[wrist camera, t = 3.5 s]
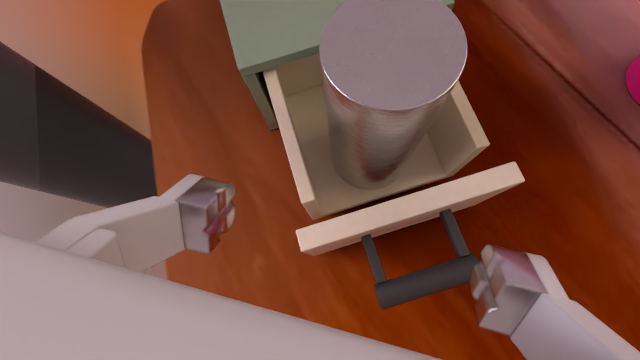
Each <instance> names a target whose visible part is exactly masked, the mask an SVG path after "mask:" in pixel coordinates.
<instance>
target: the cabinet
mask: <svg viewBox="0 0 640 360" xmlns="http://www.w3.org/2000/svg"><path fill="white" fill-rule="evenodd" d="M346 1H347V0H220V3H221V7H222V11H223V14H224V18H225V22H226V26H227V29H228V33H229V37H230V41H231V45H232V48H233V52H234V56H235V60H236V63H237V67H238V70H239V72H240V74H241V76H242V78H243V80H244V81H245V83H246V85H247V87H248V89H249V91H250V93H251V94H252V96H253V98H254V100H255V102H256V104H257V106H258V107H259V109H260V111H261V113H262V115H263V117H264V119H265V120H266V122H267V124H268V126H269V128H270V130H274V129H277V128H279V125H278V122H277V118H276V115H275V111H274V108H273V105H272V101H271V98H270V94H269V91H268V87H267V84H266V81H265V77H264V74H263V71H264V70H267V69H270V68H274V67H277V66H280V65H283V64H287V63H290V62H293V61H296V60H299V59H303V58H306V57H309V56H312V55H316V54H319V43H320V38H321V34H322V31H323V28H324V26H325V25H326V23H327V21H328V19H329V18H330V16H331V15H332V14H333V13H334V11H335V10H336V9H337V8H338V7H339V6H341V5H342V4H343V3H344V2H346ZM440 1H441V2H442V3H444V4H445V5H446V6H447V7H448V8H449V9H451V11H452V8H453V6H454V3H455V2H454V0H440Z"/></svg>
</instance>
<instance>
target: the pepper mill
mask: <svg viewBox="0 0 640 360" xmlns="http://www.w3.org/2000/svg"><path fill="white" fill-rule="evenodd" d="M626 84H627V88H628V91H629V93H630V94H631V96H632V98H633V99H634V100H635V101H636V102H637V103H638V104H639V105H640V56H638V57H637V58H636V59H635V60H633V61H632V63H631V64H630V66H629V67H628V70H627V72H626Z"/></svg>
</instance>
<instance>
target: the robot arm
mask: <svg viewBox="0 0 640 360" xmlns="http://www.w3.org/2000/svg"><path fill="white" fill-rule="evenodd" d="M234 196H235V188H234V186H233V185H232V184H230V183H226V182H222V181H219V180H215V179H211V178H207V177H203V176H199V175H194V174H188V175H187V176H186V177H184V178H183V179H182V180H180V181H179V182H178V183H177V184H175V185H174V186H173V187H171V188H170V189H169V190H168V191H166V192H165V193H164V194H162V195H161V196H160V197H156V196H153V197H149V198H145V199H142V200H138V201H134V202H130V203H126V204H123V205H119V206H115V207H111V208H107V209H104V210H100V211H96V212H92V213H88V214H85V215H81V216H77V217H73V218H70V219H69V220H67V221H66V222H64V223H63V224H61V225H59V226H58V227H56V228H55V229H53V230H51V231H50V232H48V233H47V234H45V235H44V236H42V237H40V238H39V239H38V240H36V241H31V240H27V239H24V238H20V237H17V236H13V235H9V234H6V233H3V232H0V360H442V359H439V358H435V357H432V356H429V355H425V354H422V353H418V352H415V351H411V350H408V349H404V348H401V347H398V346H394V345H391V344H387V343H384V342H380V341H377V340H374V339H370V338H367V337H363V336H360V335H356V334H353V333H349V332H346V331H342V330H339V329H335V328H332V327H328V326H325V325H321V324H318V323H315V322H311V321H308V320H304V319H301V318H297V317H294V316H290V315H287V314H283V313H280V312H276V311H273V310H269V309H266V308H262V307H259V306H256V305H252V304H249V303H245V302H242V301H238V300H235V299H231V298H228V297H224V296H221V295H217V294H214V293H210V292H207V291H204V290H200V289H197V288H193V287H190V286H186V285H183V284H179V283H176V282H172V281H169V280H165V279H162V278H159V277H155V276H152V275H148V274H145V273H141V272H143V271H145V270H147V269H149V268H151V267H153V266H154V265H156V264H158V263H160V262H162V261H164V260H166V259H168V258H170V257H172V256H174V255H176V254H177V253H179V252H181V251H183V250H185V248H186V249H190V250H194V251H198V252H202V253H206V254H210V253H211V252H212V250H213V249H214V248H215V247H216V245H217V244H218V243H219V241H220V235H221V234H224V233H226V232H227V231H228V230H229V228H230V227H231V225H232V223H233V220H234V216H235V205H234V204H233V202H232V201H231V199H232V198H233V197H234ZM480 255H481V258H482V261H481V262H479V263H477V264H475V265H474V267H473V270H472V272H471V275H470V280H469V288H470V293H471V296H472V297H473V298H474V299H475V300H476V301H477V303H476V305H475V307H474V310H475V314H476V318H477V322H478V326H479V327H480V328H483V329H486V330H490V331H493V332H497V333H500V334H503V335H507V336H510V339H511V340H512V341H513V343H514V344H515V345H516V347H517V348H518V349H519V350H520V352H521V353H522V354H523V356H524V357H525V358H526V359H527V360H640V352H639V351H638V350H637V349H635V348H634V347H633V346H632V345H630V344H629V343H628V342H627V341H625V340H624V339H623V338H622V337H620V336H619V335H618V334H616V333H615V332H614V331H613V330H611V329H610V328H609V327H608V326H606V325H605V324H604V323H603V322H601V321H600V320H599V319H598V318H596V317H595V316H594V315H593V314H591V313H590V312H589V311H587V310H586V309H585V308H584V307H582V306H581V305H580V304H579V303H577V302H576V301H573V300H570V299H569V298H568V296H567V294H566V293H565V291H564V289H563V287H562V286H561V284H560V282H559V280H558V279H557V277H556V275H555V273H554V272H553V270H552V268H551V267H550V265H549V263H548V261H547V260H546V259H545V258H544V257H543V256H540V255H536V254H531V253H526V252H519V251H515V250H510V249H506V248H501V247H497V246H492V245H488V244H487V245H486V246H485V247H484V248H483V250H482V252H481V254H480Z"/></svg>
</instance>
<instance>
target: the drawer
mask: <svg viewBox="0 0 640 360" xmlns="http://www.w3.org/2000/svg"><path fill="white" fill-rule="evenodd" d="M263 74H264V77H265V81H266V84H267V87H268V91H269V94H270V98H271V101H272V105H273V108H274V111H275V115H276V118H277V122H278V125H279V128H280V132H281V135H282V139H283V142H284V146H285V149H286V152H287V156H288V159H289V163H290V166H291V170H292V173H293V176H294V180H295V183H296V187H297V190H298V193H299V197H300V200H301V203H302V205H303V206H304V208H305V209H306V211H307V212H308V214H309V215H310V217H311V218H312V220H315V219H318V218H321V217H324V216H327V215H331V214H334V213H337V212H340V211H343V210H346V209H350V208H353V207H356V206H359V205H362V204H365V203H369V202H372V201H375V200H378V199H381V198H384V197H388V196H391V195H394V194H397V193H400V192H404V191H407V190H410V189H413V188H416V187H419V186H423V185H426V184H429V183H432V182H435V181H438V180H442V179H445V178H448V177H451V176H453V175H454V174H455V173H457V172H458V171H459V170H460V169H461V168H463V167H464V166H465V165H466V164H467V163H468V162H470V161H471V160H472V159H473V158H474V157H476V156H477V155H478V154H479V153H480V152H482V151H483V150H484V149H485V148H486V147H488V146H489V145H490V143H489V141H488V139H487V137H486V135H485V133H484V131H483V129H482V127H481V125H480V123H479V121H478V119H477V117H476V115H475V113H474V111H473V109H472V107H471V105H470V103H469V101H468V99H467V97H466V95H465V93H464V91H463V89H462V87H461V85H460V83H459V81H457V83H456V84H455V86H454V88H453V89H452V91H451V92H450V94H449V96H448V97H447V99H446V101H445V102H444V104H443V106H442V107H441V109H440V110H439V112H438V114H437V115H436V117H435V119H434V120H433V122H432V124H431V125H430V127H429V128H428V130H427V132H426V133H425V135H424V137H423V138H422V140H421V142H420V143H419V145H418V146H417V148H416V150H415V151H414V153H413V155H412V156H411V158H410V160H409V161H408V163H407V164H406V166H405V168H404V169H403V171H402V173H401V174H400V175H399V177H398V178H397V179H396V180H395V181H394V182H392V183H391V184H389V185H387V186H385V187H383V188H379V189H374V190H365V189H360V188H356V187H354V186H351V185H350V184H348V183H346V182H345V181H344V180H343V179H342V178H341V177H340V176H339V175H338V174H337V172H336V170H335V168H334V166H333V163H332V157H331V149H330V140H329V132H328V123H327V115H326V106H325V98H324V89H323V80H322V72H321V63H320V55H319V54H316V55H312V56H309V57H306V58H303V59H299V60H296V61H293V62H290V63H287V64H283V65H280V66H277V67H274V68H270V69H267V70H264V71H263ZM524 181H525V179H524V177H523V175H522V173H521V171H520V169H519V168H518V166H517V164H516V162H510V163H507V164H504V165H501V166H498V167H494V168H491V169H488V170H485V171H482V172H479V173H475V174H472V175H469V176H466V177H463V178H460V179H456V180H453V181H450V182H447V183H444V184H441V185H437V186H434V187H431V188H428V189H425V190H422V191H418V192H415V193H412V194H409V195H406V196H403V197H399V198H396V199H393V200H390V201H387V202H384V203H380V204H377V205H374V206H371V207H368V208H365V209H361V210H358V211H355V212H352V213H349V214H346V215H342V216H339V217H336V218H333V219H330V220H327V221H323V222H320V223H317V224H314V225H311V226H308V227H304V228H301V229H298V230H296V234H297V238H298V241H299V245H300V249H301V251H302V252H304V253H307V254H310V255H313V256H316V255H319V254H322V253H325V252H328V251H332V250H335V249H338V248H341V247H344V246H347V245H351V244H354V243H357V242H360V241H362V243H363V246H364V249H365V252H366V255H367V258H368V261H369V264H370V267H371V270H372V272H373V275H374V278H375V281H376V283H377V284H375V285H374V290H375V294H376V297H377V299H378V302H379V305H380V307H381V309H382V310H384V309H387V308H390V307H393V306H396V305H400V304H403V303H406V302H409V301H412V300H415V299H418V298H421V297H425V296H428V295H431V294H434V293H437V292H440V291H443V290H447V289H450V288H453V287H456V286H459V285H462V284H465V283H469V280H470V275H471V272H472V270H473V267H474V265H475V264H477V263H479V262H480V261H479V259H478V258H477V257H476V256H475V255H474V254H470V252H469V250H468V248H467V245H466V243H465V241H464V239H463V236H462V234H461V232H460V229H459V227H458V225H457V222H456V220H455V218H454V215H453V213H452V212H455V211H458V210H461V209H464V208H467V207H471V206H474V205H476V204H478V203H480V202H482V201H484V200H487V199H489V198H491V197H493V196H495V195H497V194H499V193H501V192H504V191H506V190H508V189H510V188H512V187H514V186H516V185H518V184H521V183H523V182H524ZM439 216H440V217H441V219H442V222H443V224H444V227H445V229H446V231H447V234H448V236H449V238H450V241H451V243H452V246H453V248H454V250H455V253H456V255H457V257H460V258H457V259H453V260H450V261H447V262H444V263H441V264H438V265H435V266H431V267H428V268H425V269H422V270H419V271H416V272H413V273H409V274H406V275H403V276H400V277H397V278H394V279H391V280H387V279H386V276H385V273H384V271H383V268H382V265H381V262H380V259H379V256H378V253H377V251H376V248H375V245H374V242H373V239H372V238H373V237H376V236H379V235H382V234H385V233H388V232H392V231H395V230H398V229H401V228H404V227H407V226H411V225H414V224H417V223H420V222H423V221H426V220H430V219H433V218H436V217H439Z"/></svg>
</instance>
